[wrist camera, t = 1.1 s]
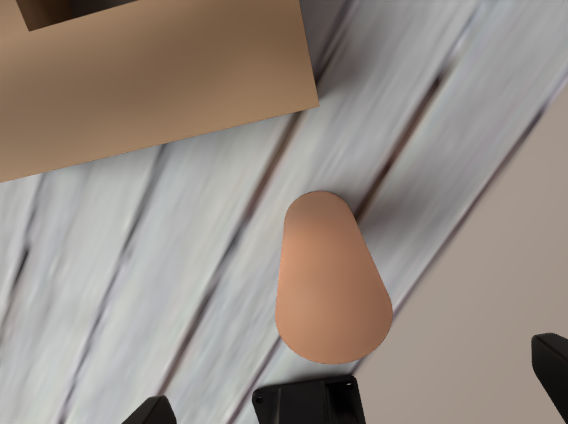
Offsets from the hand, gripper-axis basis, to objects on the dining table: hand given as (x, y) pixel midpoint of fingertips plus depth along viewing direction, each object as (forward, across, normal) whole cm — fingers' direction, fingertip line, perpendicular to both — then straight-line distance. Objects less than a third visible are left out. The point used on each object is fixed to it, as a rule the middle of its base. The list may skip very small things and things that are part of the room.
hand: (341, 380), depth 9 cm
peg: (+10, 0, 0) cm, 10 cm away
